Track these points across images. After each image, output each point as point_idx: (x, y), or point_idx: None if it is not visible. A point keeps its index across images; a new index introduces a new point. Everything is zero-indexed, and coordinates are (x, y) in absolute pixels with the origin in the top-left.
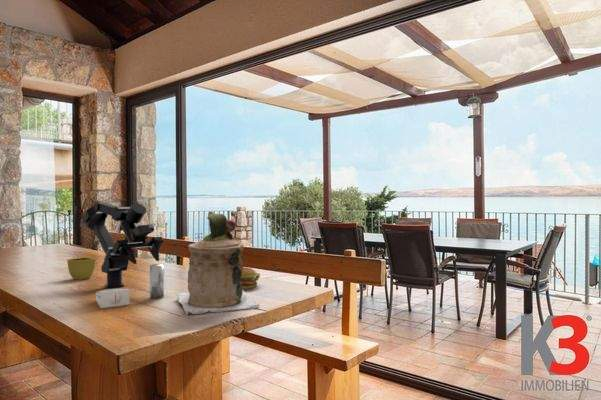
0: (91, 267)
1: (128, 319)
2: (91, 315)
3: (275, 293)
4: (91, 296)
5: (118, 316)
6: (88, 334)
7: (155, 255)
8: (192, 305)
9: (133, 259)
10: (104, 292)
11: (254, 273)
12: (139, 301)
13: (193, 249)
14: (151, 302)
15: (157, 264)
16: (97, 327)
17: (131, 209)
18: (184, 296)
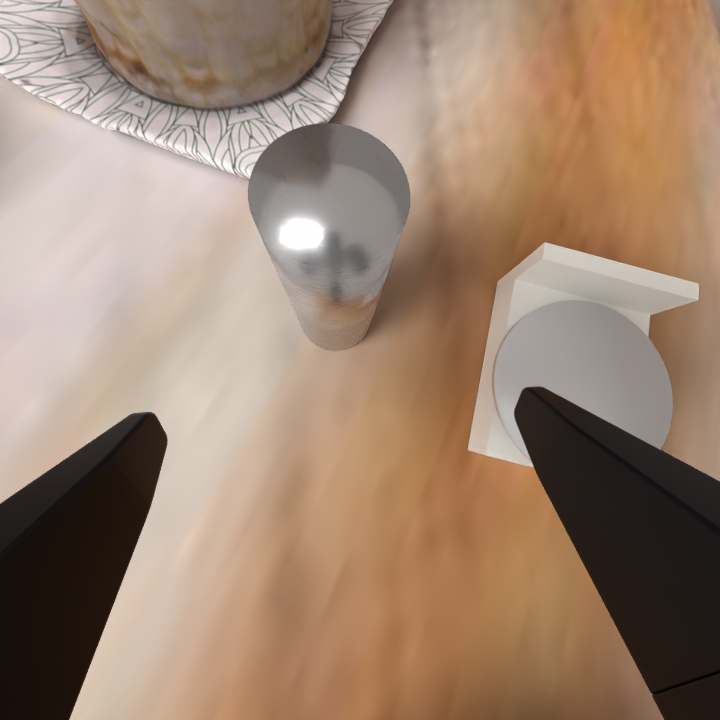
0: None
1: (576, 88)
2: (669, 232)
3: None
4: (595, 629)
5: (592, 146)
6: (713, 43)
7: (89, 540)
8: (332, 23)
9: (596, 420)
10: (677, 278)
11: None
12: (438, 303)
13: None
14: (405, 243)
15: (309, 213)
16: (679, 83)
17: None
18: (279, 132)
